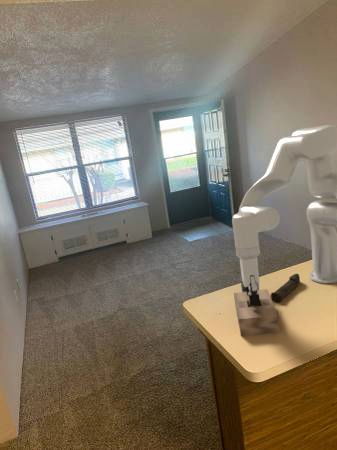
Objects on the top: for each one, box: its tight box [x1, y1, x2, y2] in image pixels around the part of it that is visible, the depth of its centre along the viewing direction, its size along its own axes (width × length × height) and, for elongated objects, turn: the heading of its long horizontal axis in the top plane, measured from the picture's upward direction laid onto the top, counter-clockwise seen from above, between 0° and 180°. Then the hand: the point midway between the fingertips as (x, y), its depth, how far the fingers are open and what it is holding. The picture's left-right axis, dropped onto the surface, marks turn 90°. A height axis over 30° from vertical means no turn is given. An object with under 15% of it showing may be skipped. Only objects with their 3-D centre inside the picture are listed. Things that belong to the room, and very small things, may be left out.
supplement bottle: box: [239, 271, 260, 292], centre depth 131 cm, size 7×7×12 cm
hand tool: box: [270, 273, 301, 303], centre depth 127 cm, size 19×4×5 cm, turn 131°
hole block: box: [233, 289, 280, 337], centre depth 113 cm, size 12×18×6 cm, turn 174°
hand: (253, 299), depth 111 cm, fingers open, 6 cm apart
